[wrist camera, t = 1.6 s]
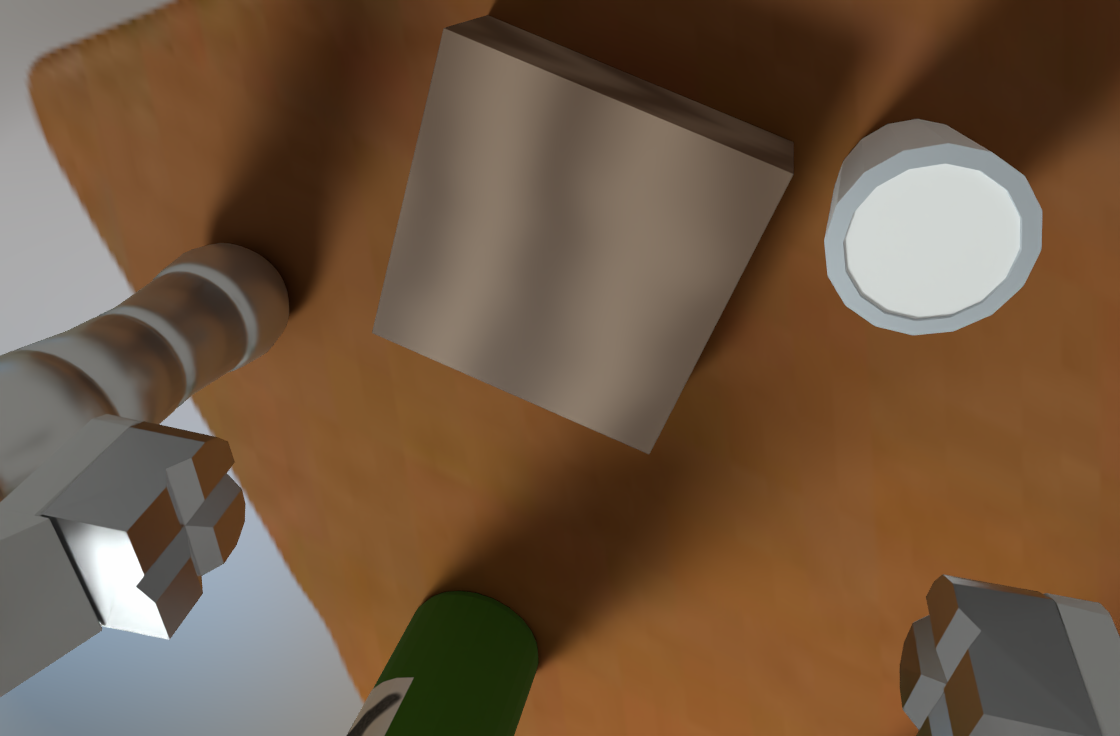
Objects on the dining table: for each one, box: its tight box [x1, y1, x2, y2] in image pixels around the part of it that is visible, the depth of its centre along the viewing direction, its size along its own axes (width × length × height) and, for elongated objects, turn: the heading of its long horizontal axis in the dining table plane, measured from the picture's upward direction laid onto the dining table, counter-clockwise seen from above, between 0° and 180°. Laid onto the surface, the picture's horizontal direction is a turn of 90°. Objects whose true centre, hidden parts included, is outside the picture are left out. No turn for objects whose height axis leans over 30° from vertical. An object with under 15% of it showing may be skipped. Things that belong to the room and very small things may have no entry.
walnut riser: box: [372, 15, 794, 454], centre depth 35 cm, size 14×14×5 cm
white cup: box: [824, 119, 1042, 335], centre depth 30 cm, size 7×7×7 cm
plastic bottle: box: [0, 243, 289, 502], centre depth 35 cm, size 6×7×20 cm
